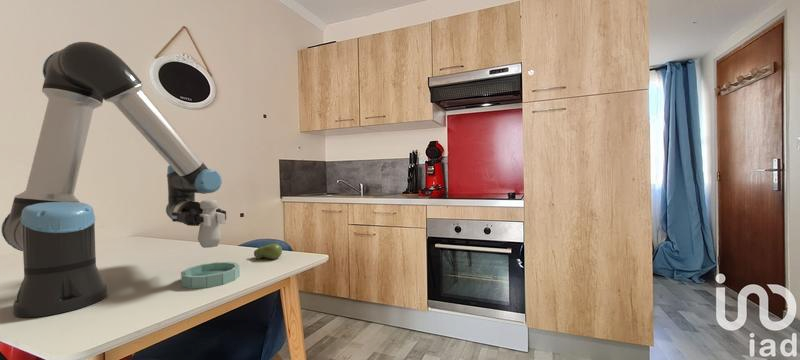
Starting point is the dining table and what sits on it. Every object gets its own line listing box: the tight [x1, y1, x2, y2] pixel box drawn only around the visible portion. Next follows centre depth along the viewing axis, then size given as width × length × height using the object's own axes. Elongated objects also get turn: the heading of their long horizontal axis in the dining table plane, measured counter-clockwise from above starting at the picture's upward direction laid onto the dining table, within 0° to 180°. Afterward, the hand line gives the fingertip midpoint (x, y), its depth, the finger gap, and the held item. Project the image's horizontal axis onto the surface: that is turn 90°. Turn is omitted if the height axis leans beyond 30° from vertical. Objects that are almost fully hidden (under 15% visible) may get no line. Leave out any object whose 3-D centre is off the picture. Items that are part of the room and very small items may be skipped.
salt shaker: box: [197, 199, 222, 249], centre depth 92 cm, size 6×6×13 cm
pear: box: [253, 243, 283, 260], centre depth 115 cm, size 6×5×10 cm
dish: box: [180, 261, 240, 289], centre depth 93 cm, size 14×14×3 cm
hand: (216, 219), depth 89 cm, fingers closed on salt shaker, 3 cm apart
